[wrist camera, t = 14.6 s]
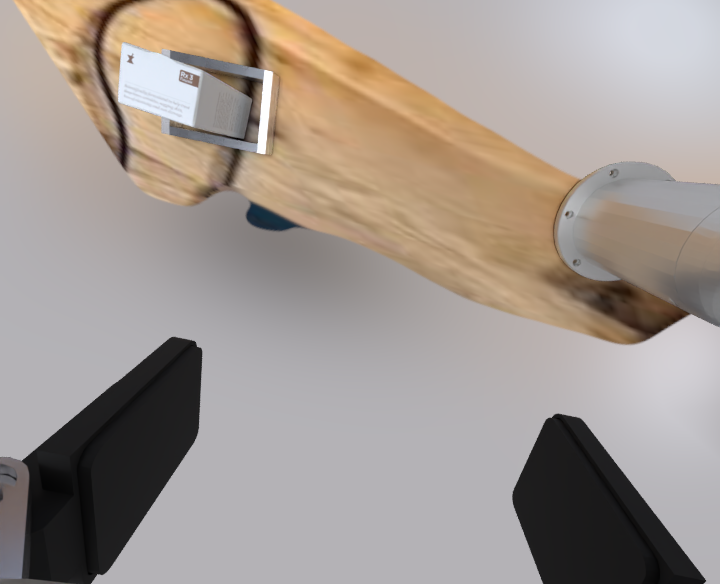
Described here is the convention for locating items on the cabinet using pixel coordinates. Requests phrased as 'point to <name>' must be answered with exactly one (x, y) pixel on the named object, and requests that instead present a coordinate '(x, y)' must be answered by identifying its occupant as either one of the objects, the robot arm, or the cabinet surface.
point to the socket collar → (238, 71)
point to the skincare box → (181, 93)
